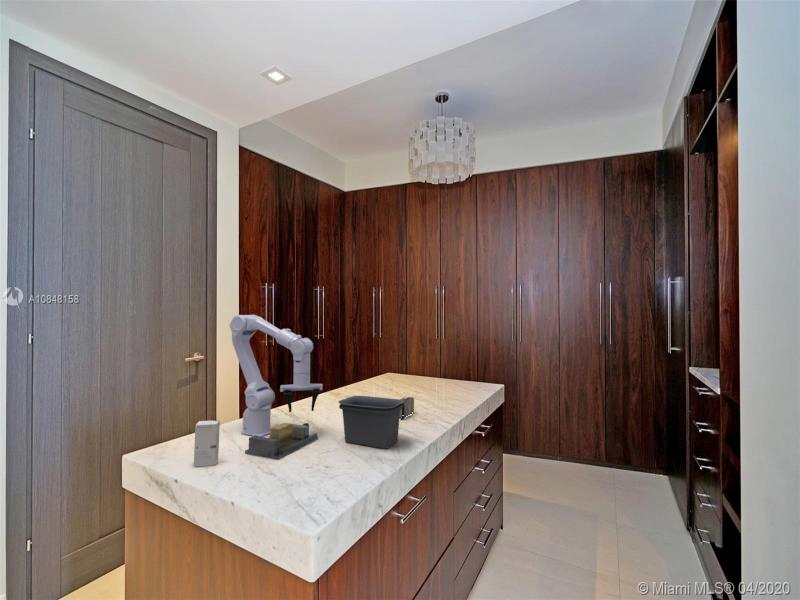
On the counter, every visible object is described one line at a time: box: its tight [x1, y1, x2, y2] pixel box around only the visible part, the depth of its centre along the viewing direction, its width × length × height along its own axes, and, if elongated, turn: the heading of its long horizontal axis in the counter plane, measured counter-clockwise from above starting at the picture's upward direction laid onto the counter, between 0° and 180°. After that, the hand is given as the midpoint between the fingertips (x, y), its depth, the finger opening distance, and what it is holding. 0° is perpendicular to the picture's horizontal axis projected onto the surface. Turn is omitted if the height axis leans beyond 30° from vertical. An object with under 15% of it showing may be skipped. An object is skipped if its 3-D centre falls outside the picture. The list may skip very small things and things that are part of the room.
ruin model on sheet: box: [398, 396, 415, 420], centre depth 171 cm, size 11×3×10 cm, turn 152°
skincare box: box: [193, 419, 221, 467], centre depth 119 cm, size 6×4×12 cm
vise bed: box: [244, 432, 319, 461], centre depth 134 cm, size 13×21×5 cm, turn 157°
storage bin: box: [337, 395, 404, 449], centre depth 139 cm, size 21×16×14 cm
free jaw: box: [291, 422, 310, 440], centre depth 142 cm, size 10×8×4 cm
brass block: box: [269, 422, 293, 447], centre depth 133 cm, size 4×7×6 cm, turn 158°
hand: (301, 410), depth 143 cm, fingers open, 7 cm apart
